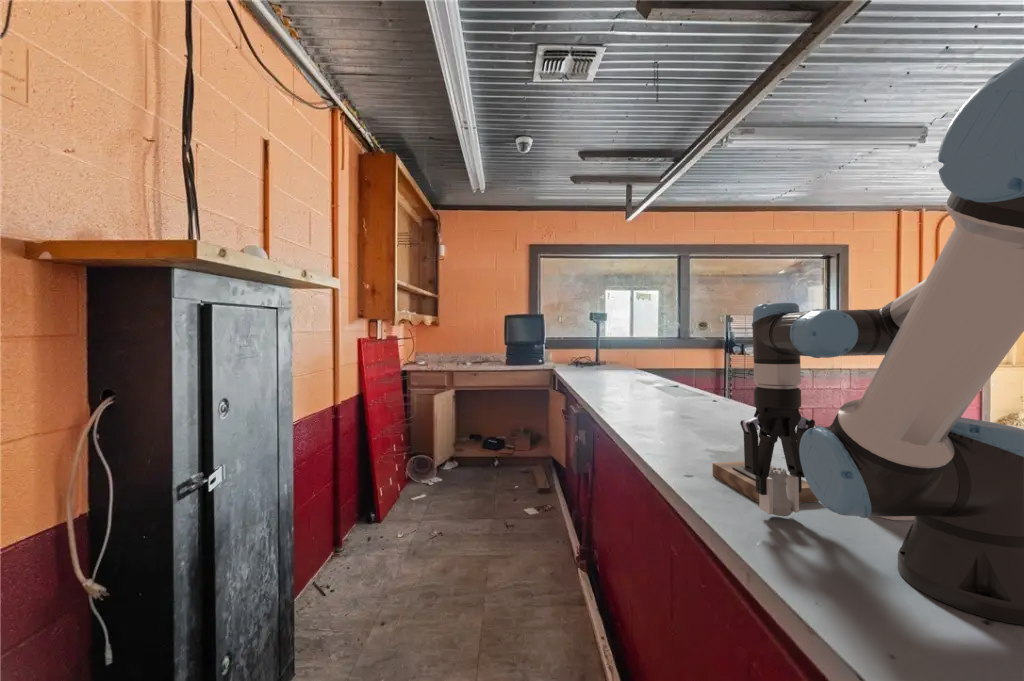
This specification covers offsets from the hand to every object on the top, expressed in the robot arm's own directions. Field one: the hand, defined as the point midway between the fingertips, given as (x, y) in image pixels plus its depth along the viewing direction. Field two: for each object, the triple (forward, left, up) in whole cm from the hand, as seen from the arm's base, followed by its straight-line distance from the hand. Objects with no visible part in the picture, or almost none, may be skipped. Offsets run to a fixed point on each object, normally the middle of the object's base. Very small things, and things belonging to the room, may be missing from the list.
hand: (779, 510), depth 80 cm
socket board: (+15, -7, -2) cm, 16 cm away
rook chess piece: (0, 0, -1) cm, 1 cm away
